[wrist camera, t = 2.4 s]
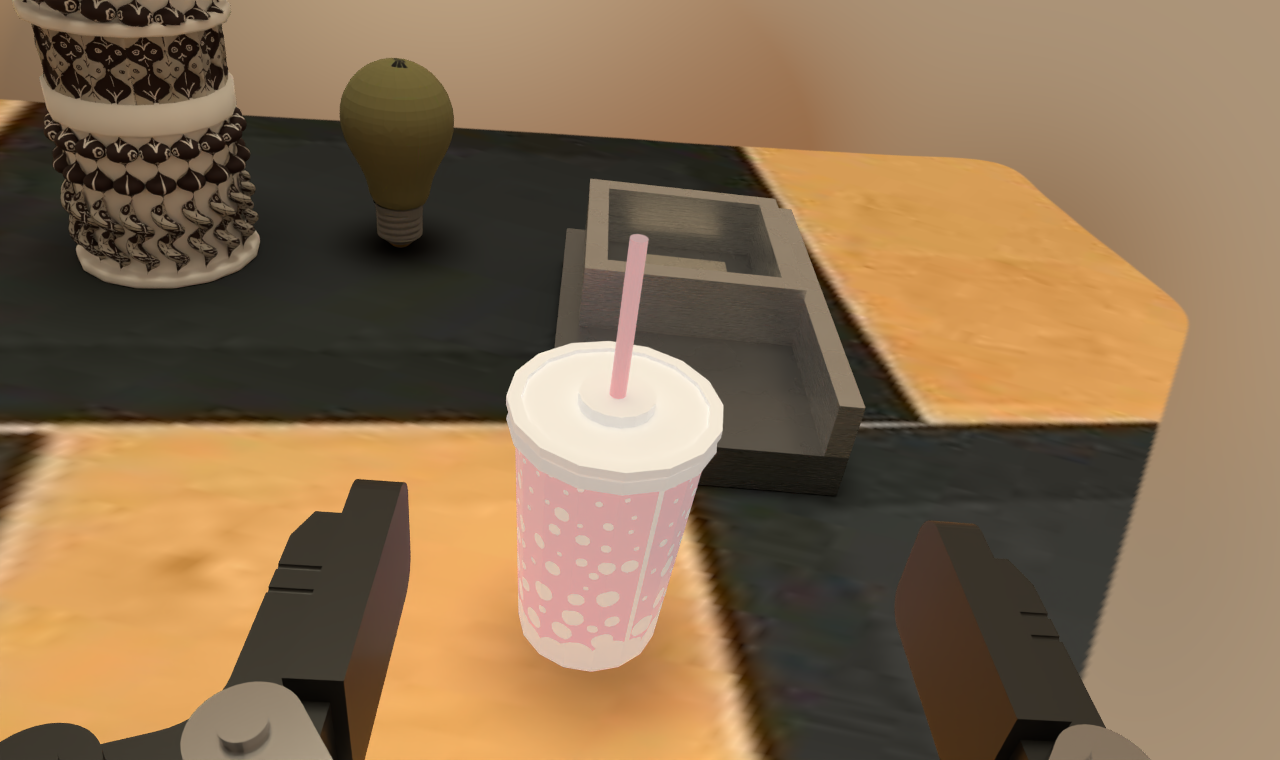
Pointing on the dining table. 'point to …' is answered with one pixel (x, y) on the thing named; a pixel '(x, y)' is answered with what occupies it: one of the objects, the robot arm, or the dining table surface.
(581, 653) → the beverage cup
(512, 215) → the dining table surface
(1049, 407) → the dining table surface
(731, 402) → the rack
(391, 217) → the light bulb
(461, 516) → the dining table surface
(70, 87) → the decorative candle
